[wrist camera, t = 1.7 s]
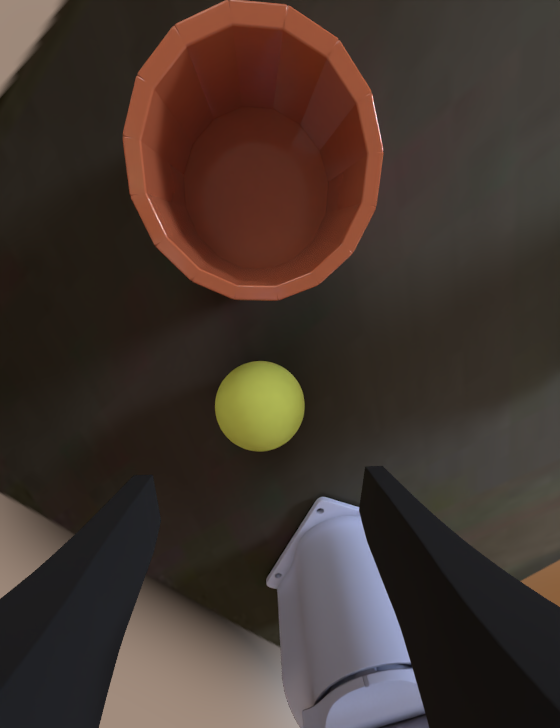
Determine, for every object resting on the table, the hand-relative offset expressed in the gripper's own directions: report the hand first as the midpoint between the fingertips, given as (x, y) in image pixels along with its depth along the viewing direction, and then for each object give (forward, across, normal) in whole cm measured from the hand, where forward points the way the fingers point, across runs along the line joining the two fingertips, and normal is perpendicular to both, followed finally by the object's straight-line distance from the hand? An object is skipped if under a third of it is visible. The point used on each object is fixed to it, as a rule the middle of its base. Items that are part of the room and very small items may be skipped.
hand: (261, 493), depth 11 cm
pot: (+8, 0, -10) cm, 13 cm away
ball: (+6, 0, 0) cm, 6 cm away
